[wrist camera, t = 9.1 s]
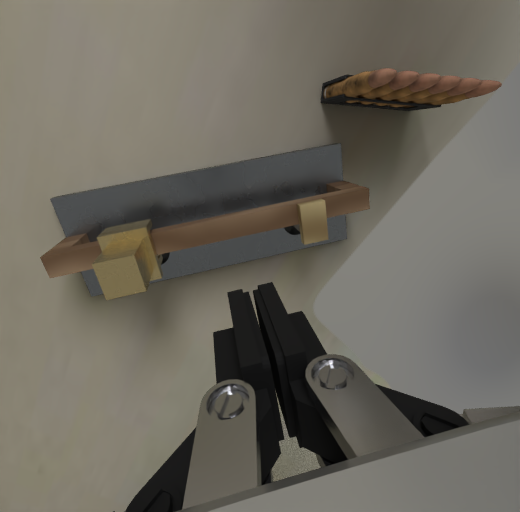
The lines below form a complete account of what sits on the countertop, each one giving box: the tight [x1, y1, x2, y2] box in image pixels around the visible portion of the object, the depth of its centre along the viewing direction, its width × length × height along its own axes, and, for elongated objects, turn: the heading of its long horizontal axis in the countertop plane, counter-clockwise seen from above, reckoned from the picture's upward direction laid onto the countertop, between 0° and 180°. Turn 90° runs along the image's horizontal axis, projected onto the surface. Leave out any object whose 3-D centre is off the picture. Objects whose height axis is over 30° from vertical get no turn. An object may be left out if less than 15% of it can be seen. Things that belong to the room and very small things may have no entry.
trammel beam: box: [40, 181, 370, 278], centre depth 31 cm, size 4×30×7 cm, turn 99°
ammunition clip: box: [321, 68, 502, 111], centre depth 28 cm, size 11×2×12 cm, turn 86°
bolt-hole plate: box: [50, 143, 347, 297], centre depth 35 cm, size 11×30×1 cm, turn 99°
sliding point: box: [92, 219, 163, 300], centre depth 28 cm, size 5×4×11 cm
